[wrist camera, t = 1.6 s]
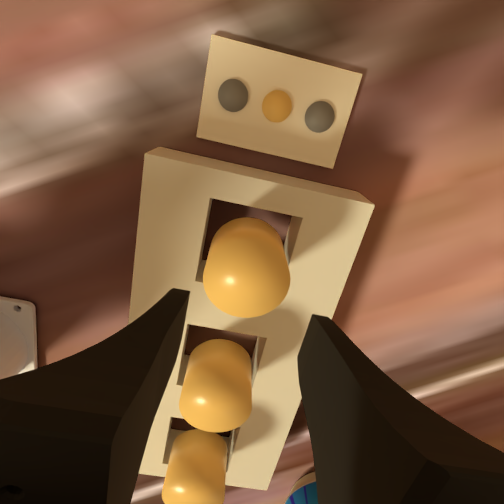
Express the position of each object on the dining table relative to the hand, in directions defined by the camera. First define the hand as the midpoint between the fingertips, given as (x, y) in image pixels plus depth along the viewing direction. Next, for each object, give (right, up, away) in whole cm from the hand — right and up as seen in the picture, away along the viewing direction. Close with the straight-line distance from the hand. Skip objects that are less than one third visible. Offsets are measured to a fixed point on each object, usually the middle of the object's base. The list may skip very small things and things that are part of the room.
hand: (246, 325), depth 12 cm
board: (-2, -3, +12) cm, 13 cm away
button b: (-2, -5, +9) cm, 10 cm away
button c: (0, +3, +6) cm, 7 cm away
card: (+2, +11, +6) cm, 12 cm away
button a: (-4, -12, +12) cm, 17 cm away
